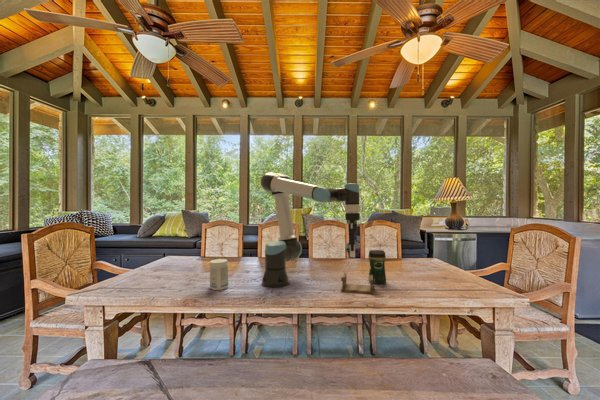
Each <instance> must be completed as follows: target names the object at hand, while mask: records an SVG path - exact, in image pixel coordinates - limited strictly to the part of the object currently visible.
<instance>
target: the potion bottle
mask: <svg viewBox="0 0 600 400" xmlns="http://www.w3.org/2000/svg"><path fill="white" fill-rule="evenodd" d="M356 240H358V236H357V234H356V235H355V257H350V245H348V243H349V242H346V243H345V244H344V245H345V251H346V253H347V255H348V258H350V259H358V258H359V255H360V251H361V249H362V248H361V247H362V243H360V242H356ZM351 242H353V241H351Z"/></svg>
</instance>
